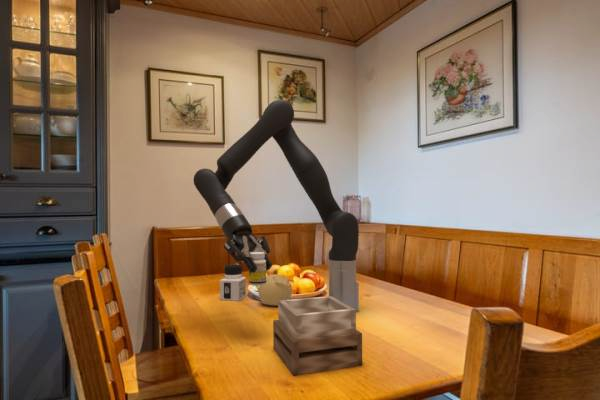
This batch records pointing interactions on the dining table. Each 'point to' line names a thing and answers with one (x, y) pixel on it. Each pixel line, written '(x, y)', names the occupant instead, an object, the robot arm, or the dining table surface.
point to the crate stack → (316, 335)
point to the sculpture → (275, 290)
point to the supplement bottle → (258, 269)
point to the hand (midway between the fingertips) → (262, 269)
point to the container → (233, 283)
